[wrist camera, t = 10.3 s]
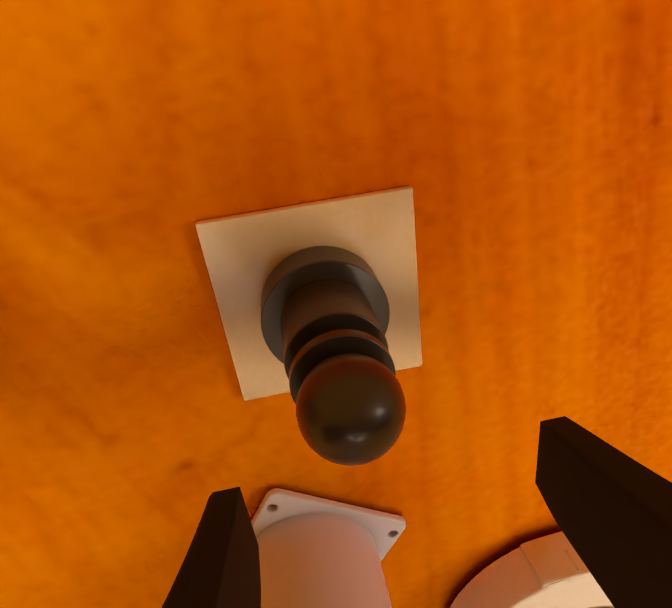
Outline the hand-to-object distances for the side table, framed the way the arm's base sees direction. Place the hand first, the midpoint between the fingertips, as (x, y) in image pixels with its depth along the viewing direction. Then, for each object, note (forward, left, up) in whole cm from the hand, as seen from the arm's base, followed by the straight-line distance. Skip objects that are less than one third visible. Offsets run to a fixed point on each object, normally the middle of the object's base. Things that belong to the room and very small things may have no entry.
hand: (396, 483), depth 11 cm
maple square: (0, +1, -9) cm, 9 cm away
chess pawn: (0, +1, -9) cm, 9 cm away
